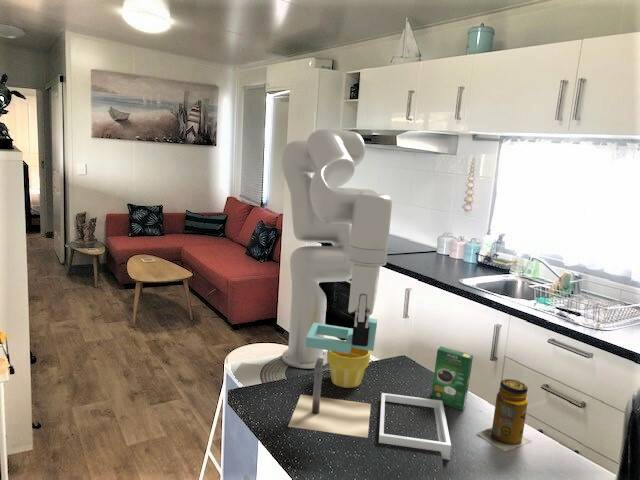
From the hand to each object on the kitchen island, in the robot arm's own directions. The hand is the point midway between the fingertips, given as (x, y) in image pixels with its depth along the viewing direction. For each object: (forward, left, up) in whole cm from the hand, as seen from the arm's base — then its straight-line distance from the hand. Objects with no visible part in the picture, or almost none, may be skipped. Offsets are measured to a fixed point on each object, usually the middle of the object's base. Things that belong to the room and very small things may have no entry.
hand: (360, 341), depth 103 cm
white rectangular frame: (-1, +12, -18) cm, 22 cm away
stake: (0, -8, -17) cm, 19 cm away
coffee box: (-15, +21, -19) cm, 32 cm away
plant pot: (-17, -3, -19) cm, 25 cm away
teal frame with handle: (0, -4, -1) cm, 4 cm away
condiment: (-3, +31, -19) cm, 37 cm away
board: (0, -5, -18) cm, 19 cm away
